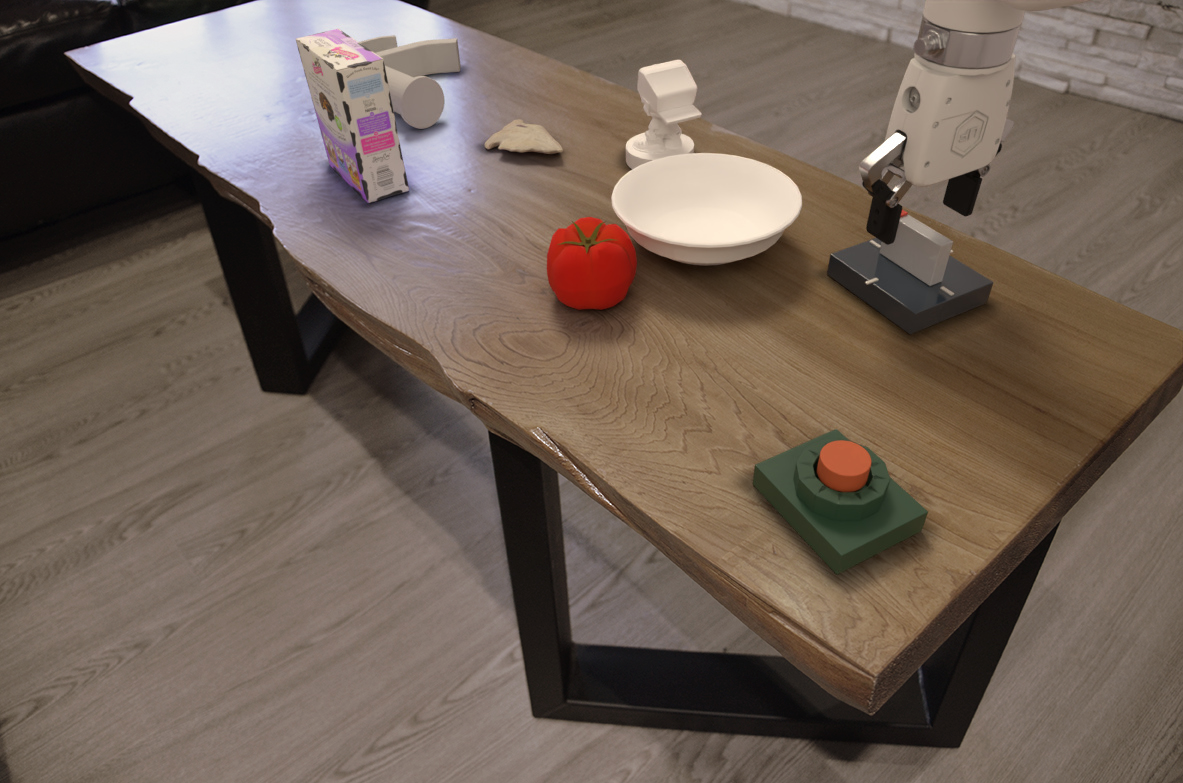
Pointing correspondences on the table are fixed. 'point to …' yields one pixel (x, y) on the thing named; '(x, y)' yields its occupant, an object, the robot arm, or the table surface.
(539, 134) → the decorative stone
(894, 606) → the table surface
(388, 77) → the faucet
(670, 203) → the bowl
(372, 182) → the candy box
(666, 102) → the character figurine
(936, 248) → the grey block
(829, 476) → the button
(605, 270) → the tomato
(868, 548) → the green button base
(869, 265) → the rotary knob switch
